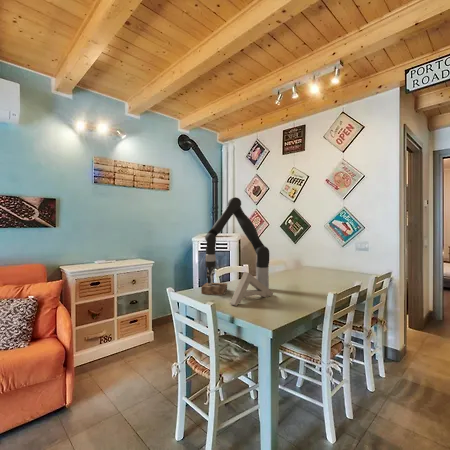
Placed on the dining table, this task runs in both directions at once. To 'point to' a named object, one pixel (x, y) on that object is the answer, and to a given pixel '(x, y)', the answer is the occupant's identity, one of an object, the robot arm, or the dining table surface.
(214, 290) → the well block
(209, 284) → the bracket
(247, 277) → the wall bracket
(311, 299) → the dining table surface
